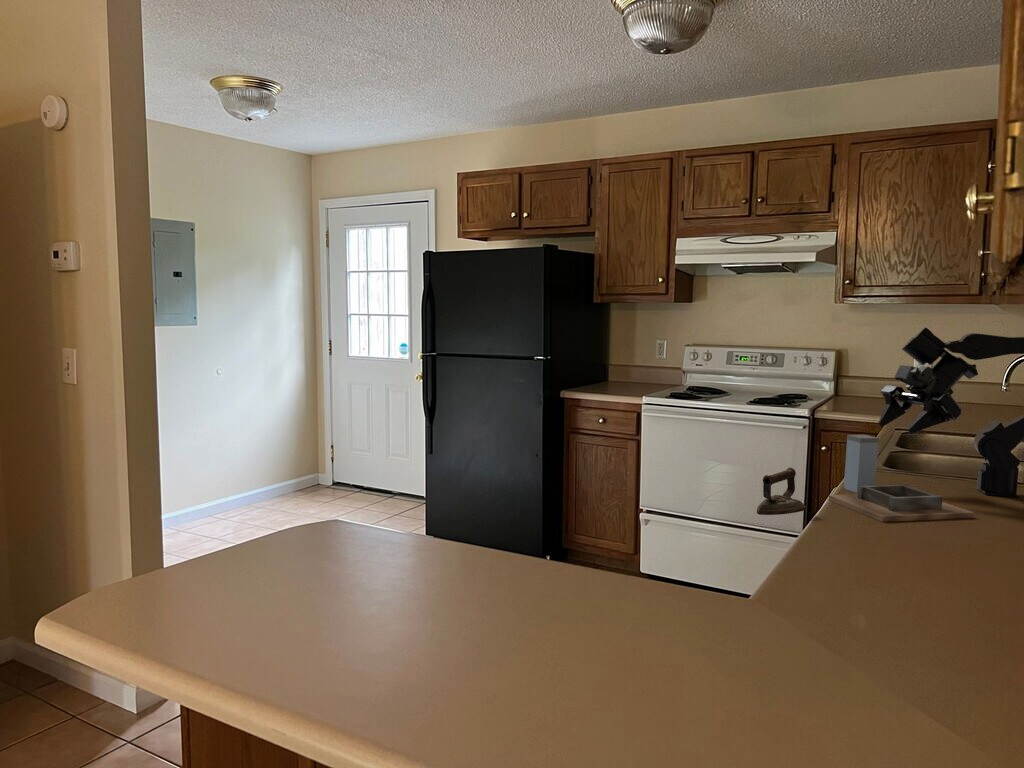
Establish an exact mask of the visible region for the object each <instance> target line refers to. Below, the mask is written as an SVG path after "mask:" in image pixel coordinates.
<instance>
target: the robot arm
mask: <svg viewBox="0 0 1024 768" xmlns="http://www.w3.org/2000/svg"><path fill="white" fill-rule="evenodd" d="M901 350H902V351H903V352H904V353H906V354H907V355H909V356H910V357H911V358H912V359H913V360H915V361H916V362H917V363H919V364H920V365H921V367H920V366H919V367H917V366H911V365H904V364H903V365H902V364H900V365H899V367H898V369H897V372H896V373H895V375H894V379H895V380H896V381H900V382H902V383H904V384H906V385H905V389H907V391H910V392H909V393H907V391H906V390H904V388H903V387H902V386H897V385H891V384H890V385H887V384H886V385H885V386H884V387H883V388H882V389H881V390H880V394H882V395H881V396H882V398H883V399H884V401H885V405H884V406H883V407H884V408H883V410H882V413H881V415H880V418H879V420H878V423H877V424H878V426H880V427H882V428H883V427H885V426H887V425H888V424H890V423H892V422H893V421H895V420H896V419H898V418H899V417H902V416H904V414H906V411H907V410H909V409H911V407H912V405H915V406H920V407H922V411H921V412H920V413H919V414H918V415H917V417H916V418H915V419H914V420H913V422H912V423H911V425H910V426H909V427H908V429H907V432H908V433H909V434H915V433H917V432H920V431H923V430H925V429H927V428H931V427H933V426H934V427H935V426H936V425H940V424H943V423H949V422H950V421H954V422H955V421H957V420H958V419H959V417H961V415H962V410H963V409H962V406H960V405H959V403H958V402H957V400H955V398H953V396H952V395H953V394H954V391H953V387H954V386H956V384H957V383H958V382H959V381H960V380H961V379H962V378H963V377H965V378H967V379H968V380H971V379H973V378H975V377H976V376H978V375H979V372H978V369H977V364H975V363H974V364H972V363H971V364H970V363H968V362H967V361H966V360H965V359H964V358H966V359H969V360H973V361H979V360H985V359H993V358H997V357H1002V356H1007V355H1022V354H1023V355H1024V336H1001V335H994V334H983V333H977V332H976V333H975V332H970V333H965V334H964V335H963V336H962V337H960V338H959V339H958V340H953V341H950V340H948V341H947V342H944V341H943V340H942V339H940V338H939V337H938V336H937V335H935V334H934V333H933V332H932V331H931V330H930V329H929V328H927V327H923V328H922V330H921V331H919V332H918V333H917V334H916V335H914V336H912V337H911V338H910V339H909V340H908V341H907V342H906V343H905V344H904V345H903V347H902V348H901ZM951 353H952V354H951ZM953 353H954V354H960V355H961V356H963V357H964V358H962V357H960V356H955V355H953ZM939 358H940V359H939ZM938 359H939V360H938ZM937 360H938V362H936V361H937ZM935 362H936V364H935V365H933V366H932V364H934V363H935ZM925 364H928V365H929V366H926V365H925ZM930 366H932V367H930ZM978 431H979V432H978V433H977V434H976V435H975V436H974V439H973V446H974V448H975V450H976V451H977V452H978V454H980V456H982V458H983V459H984V461H985V462H981V465H980V466H981V467H980V469H978V470H977V480H976V481H977V482H976V483H977V484H976V489H977V490H979V491H980V492H981V493H983V494H984V495H988V496H1001V497H1013V498H1020V494H1019V493H1018V483H1019V482H1018V481H1019V471H1020V467H1019V466H1020V463H1021V459H1019V458H1018V457H1017V456H1016V455H1015V454H1014V453H1012V452H1013V450H1015V449H1016V448H1017V446H1019V444H1020V443H1021V442H1022V441H1023V440H1024V413H1022V414H1021V415H1019V416H1018V417H1016V418H1014V419H1012V420H1010V421H1007V422H1003V423H1002V422H1001V421H1000V420H998V419H997V418H995V419H994V420H993V421H991V423H989V424H988V425H986V426H985V427H980V428H979V429H978Z"/></svg>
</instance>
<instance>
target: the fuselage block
mask: <svg viewBox="0 0 1024 768" xmlns="http://www.w3.org/2000/svg"><path fill="white" fill-rule="evenodd" d="M846 436H847V437H846V450H845V451H846V452H845V469H844V482H843V489H845V490H847V491H851V492H853V493H854V494H858V486H876V481H877V480H876V479H877V468H878V466H877V465H878V451H879V437H875V436H873V435H868V434H847V435H846Z"/></svg>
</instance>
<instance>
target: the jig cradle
mask: <svg viewBox="0 0 1024 768" xmlns="http://www.w3.org/2000/svg"><path fill="white" fill-rule="evenodd" d="M828 501H831V502H833V503H835V504H837V505H841V506H843V507H845V508H848V509H850V510H852V511H855V512H857V513H860V514H862V515H864V516H867V517H869V518H871V519H874V520H877V521H879V522H880V523H881V522H882V523H885V522H887V523H888V522H889V521H890V522H906V521H907V522H909V521H927V520H928V521H929V520H930V521H931V520H933V521H935V520H950V519H951V520H952V519H953V520H954V519H973V518H974V515H975V512H973V511H970V510H967V509H964V508H961V507H959V506H955V505H952V504H949V503H947V502H944V501H943V496H941V495H936V494H933V493H930V492H927V491H924V490H921V489H919V488H915V487H913V486H910V485H907V484H884V485H882V484H881V485H877V484H876V485H875V486H858V493H853V494H849V493H848V494H829V495H828Z"/></svg>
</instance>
